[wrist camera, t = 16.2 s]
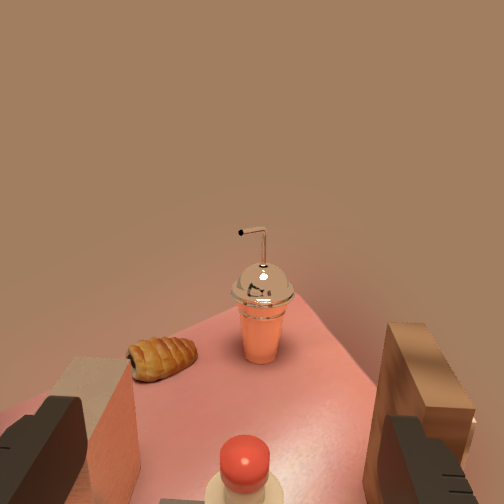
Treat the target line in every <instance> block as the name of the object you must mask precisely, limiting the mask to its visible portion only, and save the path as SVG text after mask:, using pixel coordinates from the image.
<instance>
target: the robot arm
mask: <svg viewBox="0 0 504 504" xmlns="http://www.w3.org/2000/svg"><path fill="white" fill-rule="evenodd" d="M87 449H88V439H87V432H86V426H85V419H84V413H83V406H82V401H81V399H80V398H79V397H74V396H55V395H50V396H48V397H47V398H46V399H45V400H44V402H43V403H42V405H41V406H40V407H39V409H38V410H37V412H36V413H35V414H34V415H24V416H23V417H22V418H20V419H19V420H18V421H17V422H15V423H14V424H13V425H11V426H10V427H9V428H7V429H6V430H5V432H4V433H3V434H2V436H1V437H0V504H64V503H65V501H66V499H67V497H68V495H69V493H70V491H71V489H72V487H73V485H74V483H75V481H76V479H77V477H78V475H79V473H80V471H81V469H82V467H83V465H84V462H85V459H86V455H87ZM377 474H378V482H379V487H380V491H381V495H382V499H383V503H384V504H478V502H477V500H476V498H475V496H473V491H472V489H471V487H470V485H469V483H468V480H467V479H465V474H464V472H463V470H462V468H461V466H460V463H459V461H458V459H457V457H456V456H455V454H454V453H453V452H452V451H451V450H450V449H449V448H448V447H447V446H446V445H445V444H444V443H443V442H442V441H441V440H440V439H432V438H427V437H426V435H425V432H424V430H423V427H422V425H421V423H420V420H419V419H418V417H417V416H407V415H389V414H387V415H386V416H385V419H384V424H383V430H382V436H381V441H380V447H379V453H378V459H377Z"/></svg>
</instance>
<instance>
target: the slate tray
mask: <svg viewBox="0 0 504 504" xmlns="http://www.w3.org/2000/svg"><path fill="white" fill-rule="evenodd" d="M159 504H205V501H192V500H176V499H160V503H159Z"/></svg>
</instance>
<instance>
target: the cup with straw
mask: <svg viewBox="0 0 504 504" xmlns="http://www.w3.org/2000/svg"><path fill="white" fill-rule="evenodd" d="M257 232H261V233H262V238H261V262H260V263H255V264H252V265H250V266H248V267H247V268H246V269H245V270H244V271H243V272H242V273H241V275H240V277H239V279H238V280H237V281H235V282H234V284H233V285H232V290H231V295H232V298H233V299H234V300H235V301H237V306H238V310H239V313H240V320H241V329H242V338H243V347H244V350H245V352H244V355H245V358H246V359H247V360H248V361H250V362H253V363H256V364H266V363H270V362H272V361H273V360H274V359H275V358H276V351H277V349H278V344H279V338H280V333H281V328H282V322H283V317H284V314H285V311H286V308H287V304H288V303H290V302H291V301H292V300H293V298H294V295H295V294H294V289H293V286H292V285H291V284H290V283H289V282H288V280H287V278H286V276H285V274H284V273H283V271H282V270H281V269H280V268H278V267H277V266H275V265H273V264H270V263H266V248H267V230H266V228H265V227H263V226H259V227H254V228H248V229H243V230H240V231H239V235H240V236H242V235H247V234H252V233H257Z"/></svg>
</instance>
